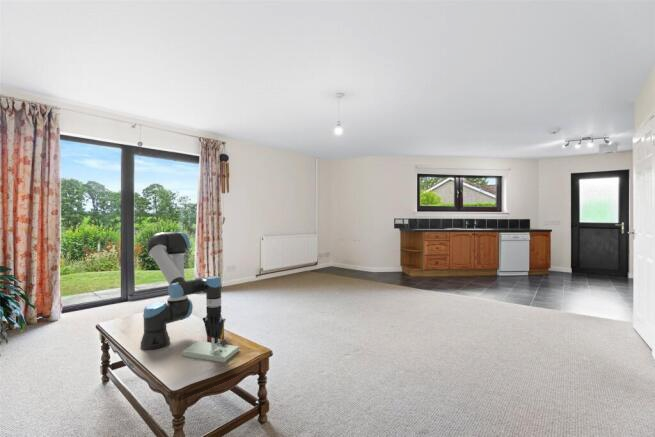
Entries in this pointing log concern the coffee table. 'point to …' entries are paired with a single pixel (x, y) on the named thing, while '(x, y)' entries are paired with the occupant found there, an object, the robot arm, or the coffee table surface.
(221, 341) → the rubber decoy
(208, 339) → the mug
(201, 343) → the board
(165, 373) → the coffee table surface
